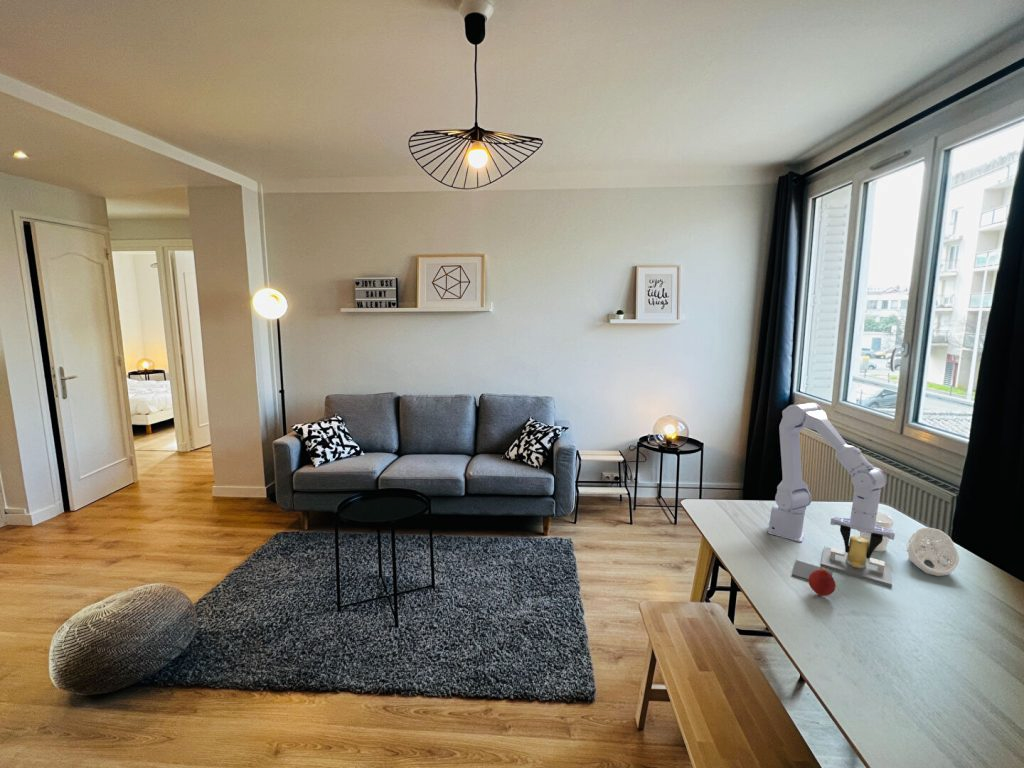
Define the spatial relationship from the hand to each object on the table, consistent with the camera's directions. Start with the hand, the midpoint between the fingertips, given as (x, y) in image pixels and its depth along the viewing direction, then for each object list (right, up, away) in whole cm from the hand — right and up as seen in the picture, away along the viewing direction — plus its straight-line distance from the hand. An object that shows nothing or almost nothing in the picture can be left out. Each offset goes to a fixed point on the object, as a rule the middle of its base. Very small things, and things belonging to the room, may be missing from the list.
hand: (857, 553), depth 133 cm
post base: (0, -4, +1) cm, 4 cm away
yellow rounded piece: (0, -2, 0) cm, 2 cm away
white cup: (+14, -2, +13) cm, 19 cm away
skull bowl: (+22, -5, +2) cm, 22 cm away
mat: (-15, -5, -3) cm, 16 cm away
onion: (-19, -7, -12) cm, 24 cm away
